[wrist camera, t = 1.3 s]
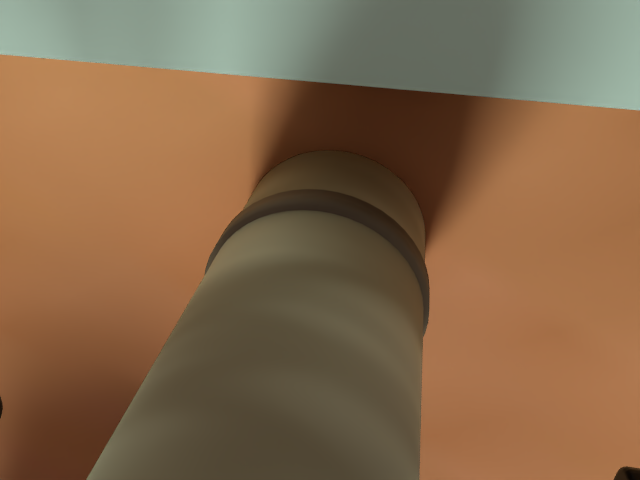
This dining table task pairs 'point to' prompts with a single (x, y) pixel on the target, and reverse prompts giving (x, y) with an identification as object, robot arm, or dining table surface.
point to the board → (356, 42)
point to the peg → (293, 340)
